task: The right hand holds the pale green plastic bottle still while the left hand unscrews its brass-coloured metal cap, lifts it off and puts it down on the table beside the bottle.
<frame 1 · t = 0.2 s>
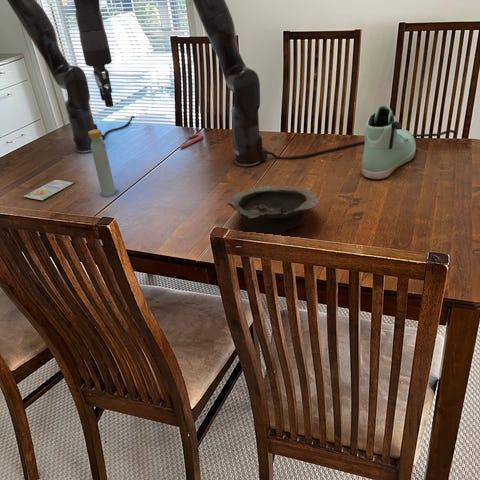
right hand: (107, 103, 146), 29 cm above the table, tool pointing down, fingers open, 8 cm apart
sneaker: (388, 161, 166), on the table
stone bowl: (273, 221, 135), on the table
cap: (94, 132, 149), point 21 cm above the table, screwed on, not yet turned
bottle: (108, 193, 160), on the table
candy cane: (190, 142, 196), on the table
baking ingredient package: (49, 190, 165), on the table
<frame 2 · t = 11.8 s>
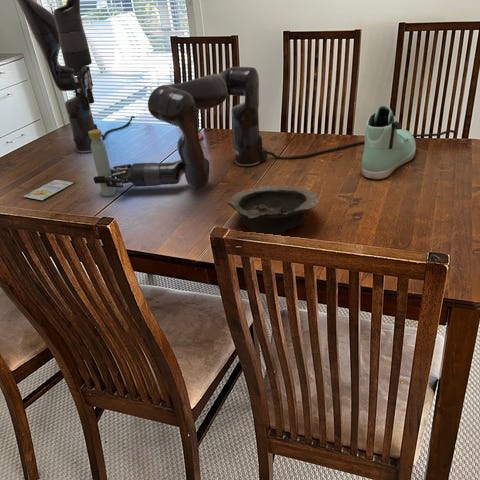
left hand: (88, 106, 144), 29 cm above the table, tool pointing down, fingers open, 6 cm apart
right hand: (96, 176, 157), 6 cm above the table, tool horizontal, fingers closed on bottle, 4 cm apart
bottle: (108, 193, 160), on the table, touching right hand
everything else where it was.
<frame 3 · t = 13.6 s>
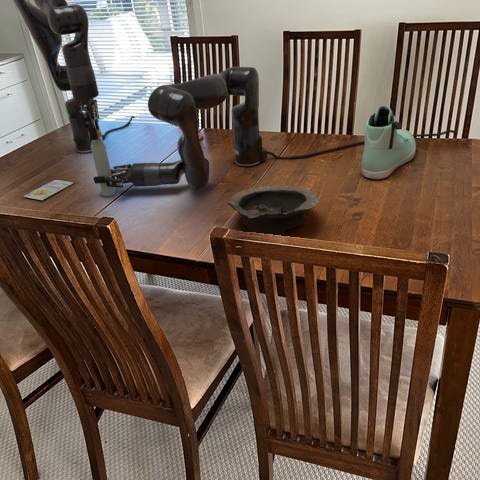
left hand: (95, 137, 149), 19 cm above the table, tool pointing down, fingers closed on cap, 3 cm apart
right hand: (96, 176, 157), 6 cm above the table, tool horizontal, fingers closed on bottle, 4 cm apart
cap: (94, 132, 149), point 21 cm above the table, screwed on, not yet turned, touching left hand
bottle: (108, 193, 160), on the table, touching right hand
everything else where it was.
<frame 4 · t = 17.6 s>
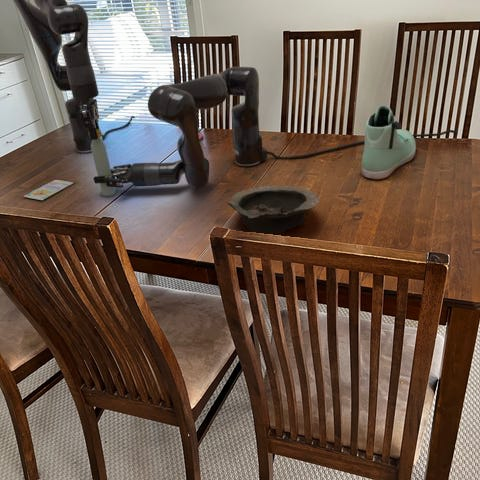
left hand: (95, 136, 149), 20 cm above the table, tool pointing down, fingers closed on cap, 3 cm apart
right hand: (96, 176, 157), 6 cm above the table, tool horizontal, fingers closed on bottle, 4 cm apart
cap: (94, 131, 149), point 21 cm above the table, turned 110° so far, risen 0.1 cm, still on its thread, touching left hand
bottle: (108, 193, 160), on the table, touching right hand
everything else where it was.
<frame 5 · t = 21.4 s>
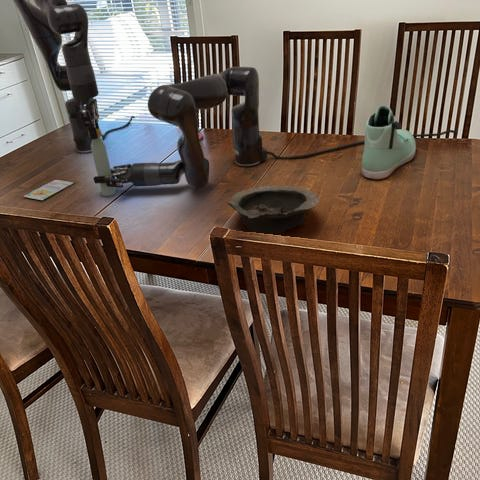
left hand: (95, 136, 149), 20 cm above the table, tool pointing down, fingers closed on cap, 3 cm apart
right hand: (96, 176, 157), 6 cm above the table, tool horizontal, fingers closed on bottle, 4 cm apart
cap: (94, 131, 149), point 21 cm above the table, turned 219° so far, risen 0.2 cm, still on its thread, touching left hand
bottle: (108, 193, 160), on the table, touching right hand
everything else where it was.
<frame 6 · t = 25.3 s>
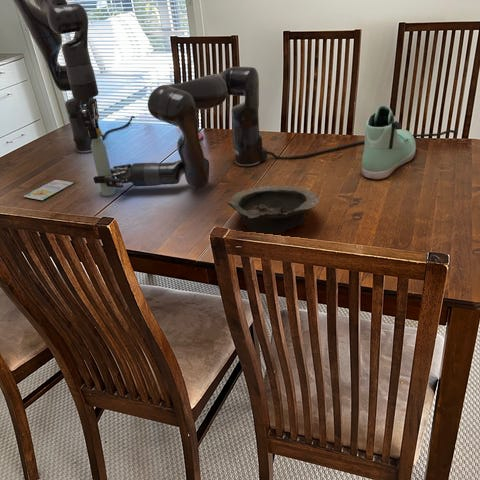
left hand: (95, 136, 149), 20 cm above the table, tool pointing down, fingers closed on cap, 3 cm apart
right hand: (96, 176, 157), 6 cm above the table, tool horizontal, fingers closed on bottle, 4 cm apart
cap: (94, 131, 149), point 21 cm above the table, turned 329° so far, risen 0.3 cm, still on its thread, touching left hand
bottle: (108, 193, 160), on the table, touching right hand
everything else where it was.
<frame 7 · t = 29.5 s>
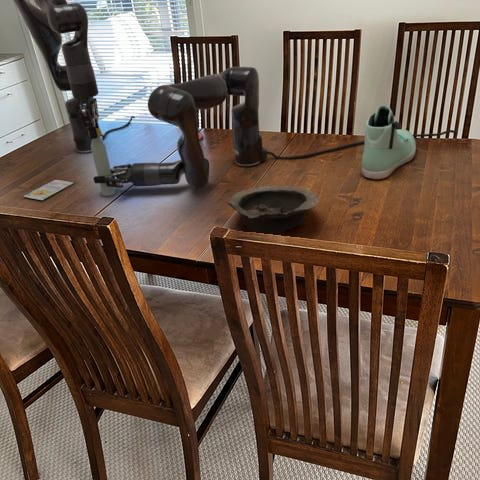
left hand: (95, 135, 149), 20 cm above the table, tool pointing down, fingers closed on cap, 3 cm apart
right hand: (96, 176, 157), 6 cm above the table, tool horizontal, fingers closed on bottle, 4 cm apart
cap: (94, 130, 149), point 21 cm above the table, turned 439° so far, risen 0.4 cm, still on its thread, touching left hand
bottle: (108, 193, 160), on the table, touching right hand
everything else where it was.
when the left hand's fingers open (2 cm above the table, at t = 36.3 s): cap drops 2 cm, point 1 cm above the table.
when the right hand's fingers open (6 cm above the table, at t = 37.4 s): bottle stays where it is, on the table.
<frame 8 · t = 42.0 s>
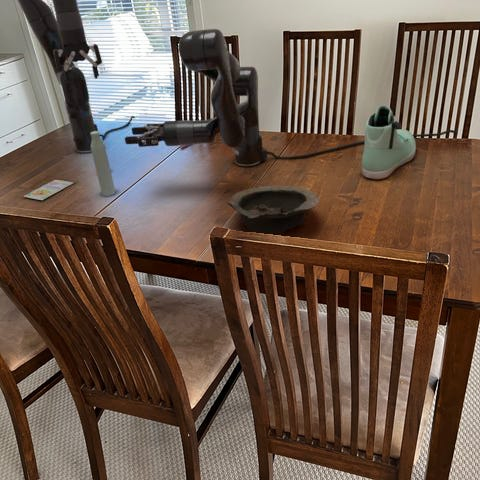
left hand: (83, 80, 158), 33 cm above the table, tool pointing down, fingers open, 8 cm apart
right hand: (128, 135, 149), 19 cm above the table, tool horizontal, fingers open, 8 cm apart
cap: (103, 168, 175), point 1 cm above the table, off its thread
bottle: (108, 193, 160), on the table
everything else where it was.
at the end: cap came off its thread; cap point 1.5 cm above the table; the left hand is holding nothing; the right hand is holding nothing; bottle tilted 0°; bottle moved 0.1 cm from its start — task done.
